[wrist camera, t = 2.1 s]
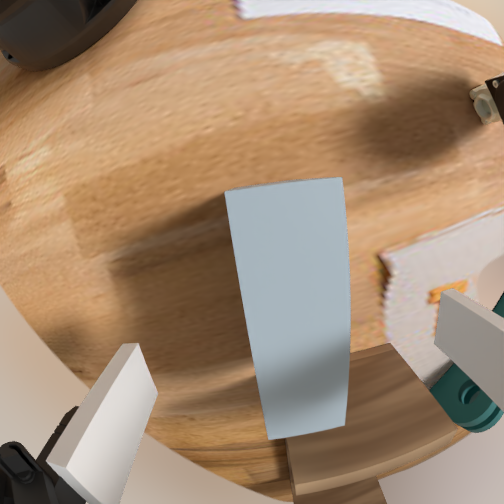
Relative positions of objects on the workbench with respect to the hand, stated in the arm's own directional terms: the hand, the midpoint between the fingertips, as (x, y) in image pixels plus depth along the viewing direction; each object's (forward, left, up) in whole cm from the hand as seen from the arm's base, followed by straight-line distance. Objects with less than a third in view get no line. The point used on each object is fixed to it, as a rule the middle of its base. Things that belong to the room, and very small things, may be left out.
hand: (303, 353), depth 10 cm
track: (+18, +4, -9) cm, 20 cm away
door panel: (0, 0, -9) cm, 9 cm away
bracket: (+13, +24, -10) cm, 29 cm away
